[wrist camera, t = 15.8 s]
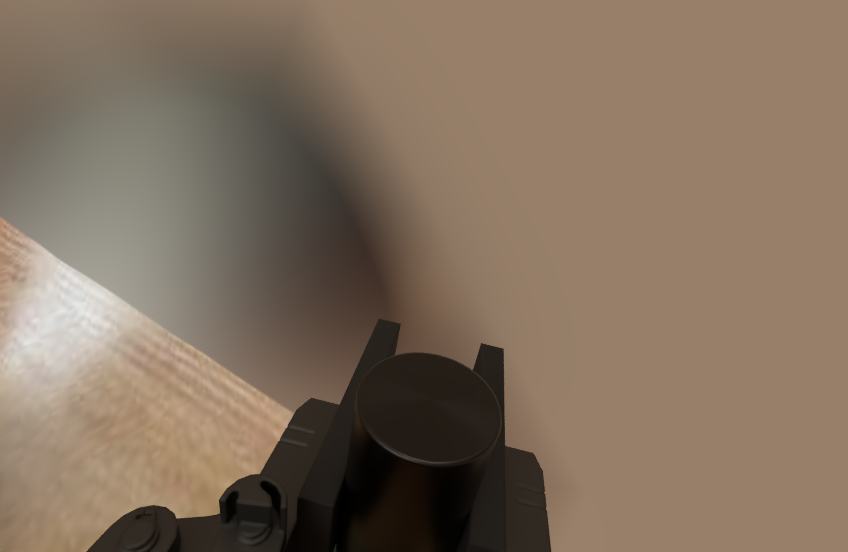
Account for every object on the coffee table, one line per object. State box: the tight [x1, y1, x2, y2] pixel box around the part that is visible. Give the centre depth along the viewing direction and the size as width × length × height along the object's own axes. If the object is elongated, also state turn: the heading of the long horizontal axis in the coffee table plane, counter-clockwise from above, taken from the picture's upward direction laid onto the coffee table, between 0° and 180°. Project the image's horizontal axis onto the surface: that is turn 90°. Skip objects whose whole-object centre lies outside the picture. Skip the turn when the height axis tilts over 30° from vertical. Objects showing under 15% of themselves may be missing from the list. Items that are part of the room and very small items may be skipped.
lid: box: [334, 352, 502, 552], centre depth 10 cm, size 9×9×10 cm
